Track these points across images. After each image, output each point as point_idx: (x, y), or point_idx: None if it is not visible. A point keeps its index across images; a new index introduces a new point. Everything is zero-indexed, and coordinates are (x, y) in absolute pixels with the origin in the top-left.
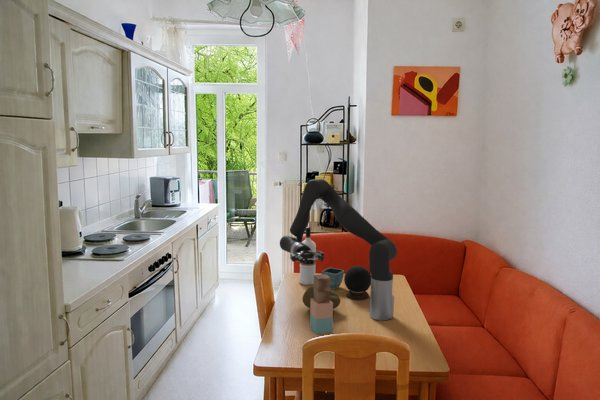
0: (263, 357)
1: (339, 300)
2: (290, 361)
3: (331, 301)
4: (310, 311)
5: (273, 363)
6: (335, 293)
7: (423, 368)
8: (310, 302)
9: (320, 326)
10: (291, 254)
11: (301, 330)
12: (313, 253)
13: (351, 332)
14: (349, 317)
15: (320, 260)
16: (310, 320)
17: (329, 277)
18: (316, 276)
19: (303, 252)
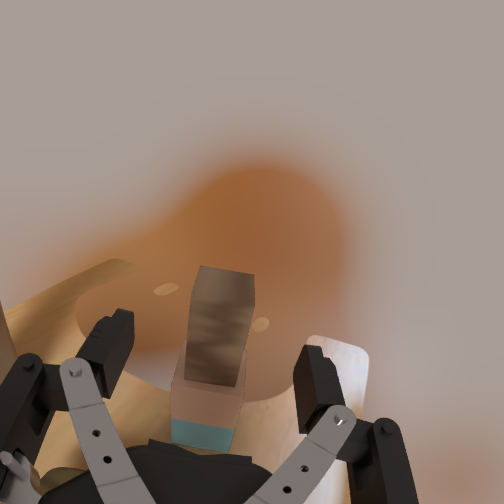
0: (363, 365)
1: (55, 468)
2: (318, 343)
3: (182, 348)
4: (235, 425)
5: (346, 347)
6: (42, 488)
7: (133, 266)
8: (241, 406)
9: None
10: (412, 485)
11: (263, 441)
12: (114, 428)
13: (136, 378)
14: (69, 442)
15: (129, 348)
16: (231, 440)
17: (202, 267)
18: (250, 290)
19: (247, 500)
